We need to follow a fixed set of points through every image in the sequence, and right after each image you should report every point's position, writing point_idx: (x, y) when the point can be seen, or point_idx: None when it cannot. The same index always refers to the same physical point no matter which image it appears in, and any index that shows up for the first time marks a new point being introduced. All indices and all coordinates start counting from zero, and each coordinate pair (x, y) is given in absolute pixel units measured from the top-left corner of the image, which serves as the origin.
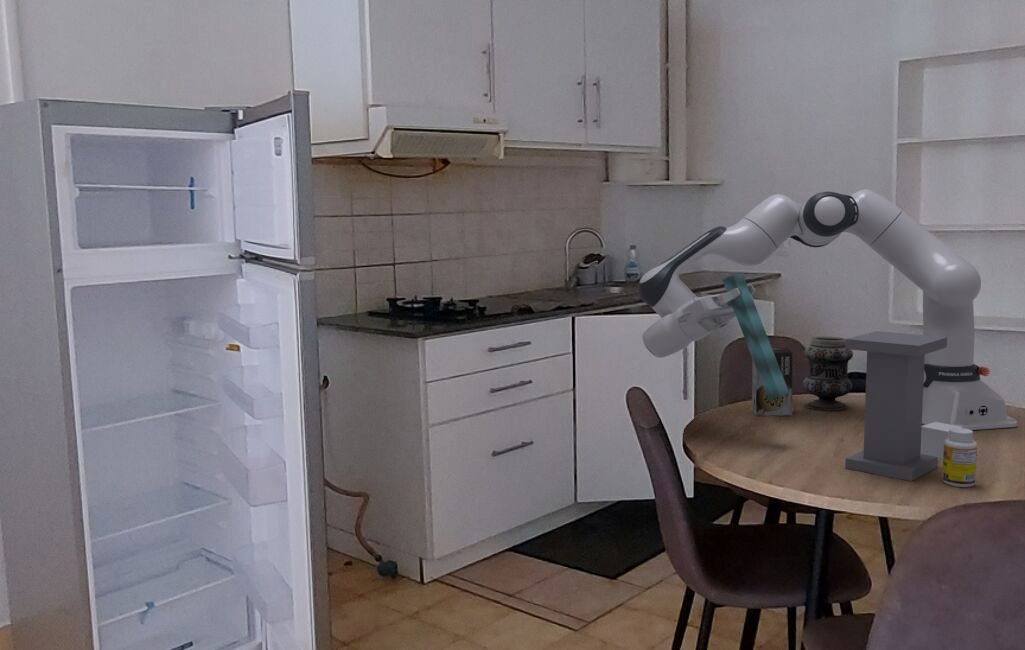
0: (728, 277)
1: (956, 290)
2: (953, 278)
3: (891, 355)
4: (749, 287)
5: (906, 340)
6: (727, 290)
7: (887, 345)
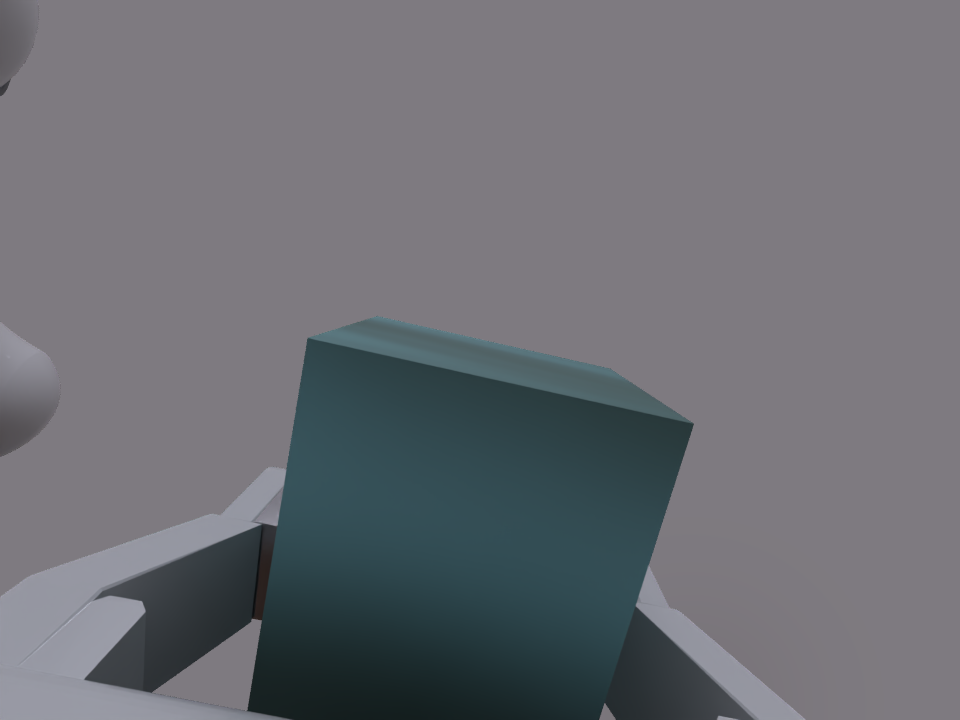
0: (633, 391)
1: (45, 420)
2: (52, 389)
3: None
4: None
5: None
6: (617, 623)
7: None
